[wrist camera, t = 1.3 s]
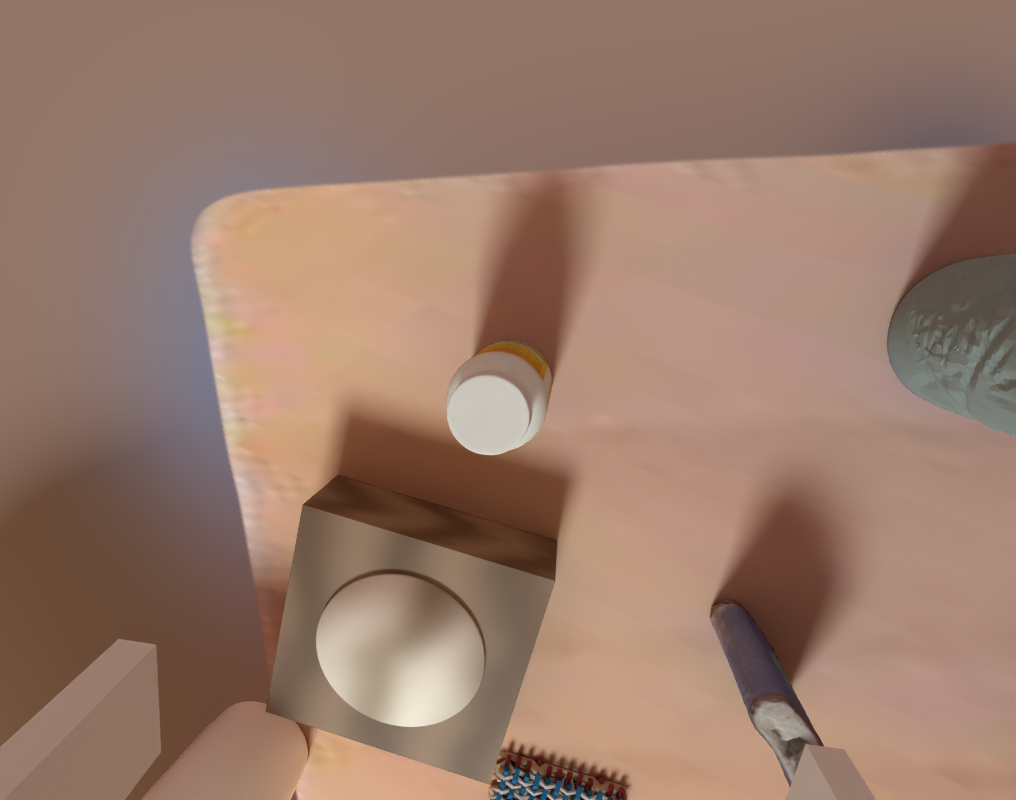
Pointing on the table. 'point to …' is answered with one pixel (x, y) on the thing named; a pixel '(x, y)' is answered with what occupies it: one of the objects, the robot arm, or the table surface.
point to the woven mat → (547, 782)
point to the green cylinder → (961, 340)
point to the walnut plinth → (409, 625)
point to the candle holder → (238, 759)
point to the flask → (764, 686)
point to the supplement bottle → (499, 398)
